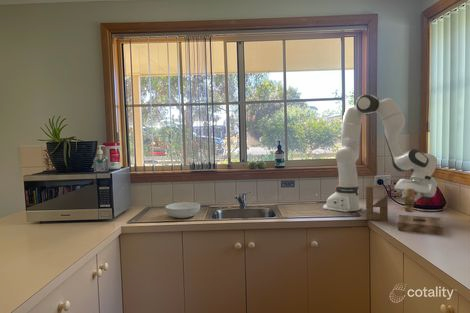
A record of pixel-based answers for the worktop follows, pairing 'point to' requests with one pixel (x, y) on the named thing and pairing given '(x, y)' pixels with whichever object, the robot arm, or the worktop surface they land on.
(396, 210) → the worktop surface
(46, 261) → the worktop surface
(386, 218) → the wooden braced stand
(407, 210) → the peg
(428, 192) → the robot arm
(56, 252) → the worktop surface
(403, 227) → the board
